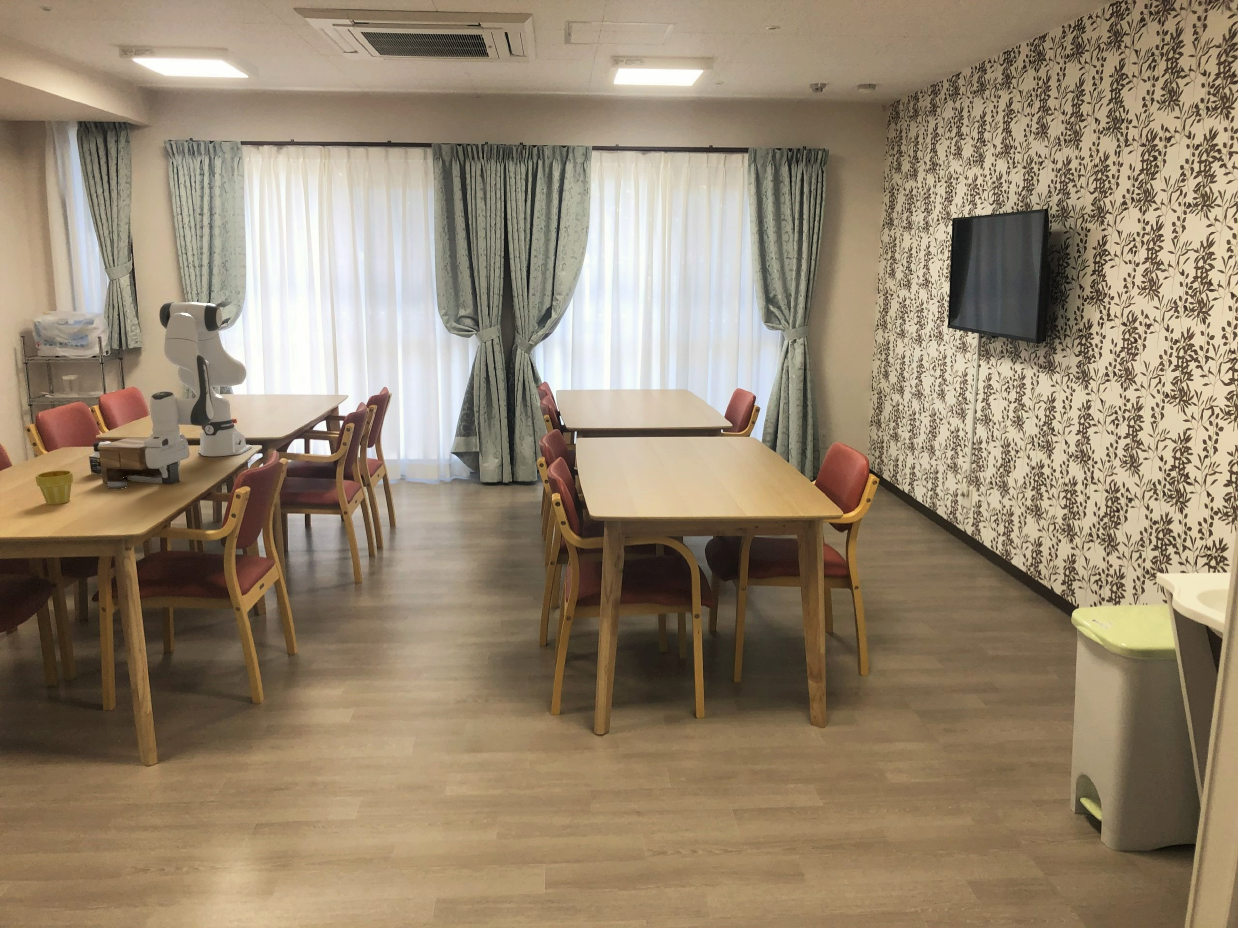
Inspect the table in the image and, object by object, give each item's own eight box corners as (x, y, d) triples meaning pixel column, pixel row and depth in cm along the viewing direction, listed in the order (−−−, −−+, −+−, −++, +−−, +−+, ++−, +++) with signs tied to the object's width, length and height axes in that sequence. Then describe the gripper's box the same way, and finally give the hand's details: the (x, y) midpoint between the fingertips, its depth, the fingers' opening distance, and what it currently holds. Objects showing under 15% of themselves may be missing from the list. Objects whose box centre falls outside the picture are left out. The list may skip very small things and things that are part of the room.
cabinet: (132, 472, 344) (128, 437, 341) (172, 474, 341) (168, 439, 338) (101, 483, 327) (97, 446, 325) (143, 484, 325) (139, 447, 322)
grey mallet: (136, 478, 336) (134, 459, 334) (179, 481, 330) (177, 463, 328) (127, 480, 332) (125, 461, 330) (171, 484, 326) (169, 465, 325)
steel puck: (117, 485, 325) (116, 478, 324) (131, 486, 323) (130, 479, 323) (104, 489, 319) (103, 482, 319) (118, 490, 318) (117, 483, 317)
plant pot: (40, 508, 294) (36, 478, 292) (38, 501, 302) (34, 472, 300) (77, 503, 300) (73, 474, 298) (74, 496, 308) (70, 468, 306)
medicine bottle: (90, 473, 342) (86, 442, 339) (108, 470, 348) (104, 439, 346) (103, 475, 339) (100, 444, 336) (121, 471, 345) (117, 440, 343)
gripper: (176, 432, 335) (180, 469, 338) (140, 443, 316) (144, 481, 319) (192, 433, 335) (195, 469, 337) (157, 443, 315) (161, 482, 318)
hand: (170, 475), depth 328 cm, fingers closed on grey mallet, 4 cm apart
